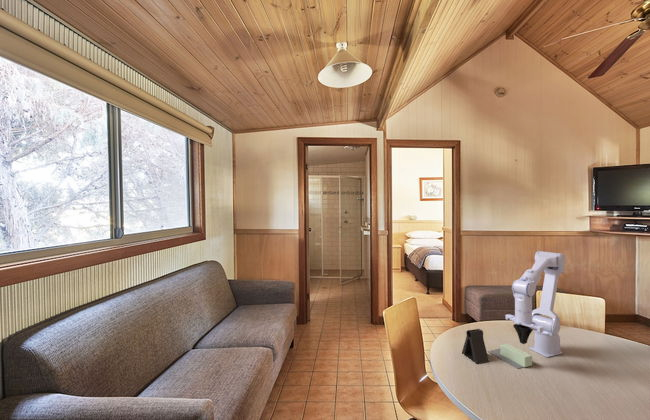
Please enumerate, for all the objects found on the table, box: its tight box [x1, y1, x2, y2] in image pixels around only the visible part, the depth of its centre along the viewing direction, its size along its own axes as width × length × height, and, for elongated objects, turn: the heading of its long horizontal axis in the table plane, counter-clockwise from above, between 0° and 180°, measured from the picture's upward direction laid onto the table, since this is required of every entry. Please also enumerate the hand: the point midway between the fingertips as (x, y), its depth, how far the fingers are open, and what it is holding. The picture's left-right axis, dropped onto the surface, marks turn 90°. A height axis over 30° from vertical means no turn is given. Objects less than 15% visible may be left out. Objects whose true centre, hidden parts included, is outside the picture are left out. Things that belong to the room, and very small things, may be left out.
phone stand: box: [461, 328, 490, 365], centre depth 125 cm, size 9×6×12 cm, turn 13°
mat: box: [487, 348, 537, 369], centre depth 124 cm, size 10×14×1 cm
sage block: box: [499, 342, 533, 368], centre depth 122 cm, size 4×4×11 cm
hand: (523, 342), depth 119 cm, fingers closed
